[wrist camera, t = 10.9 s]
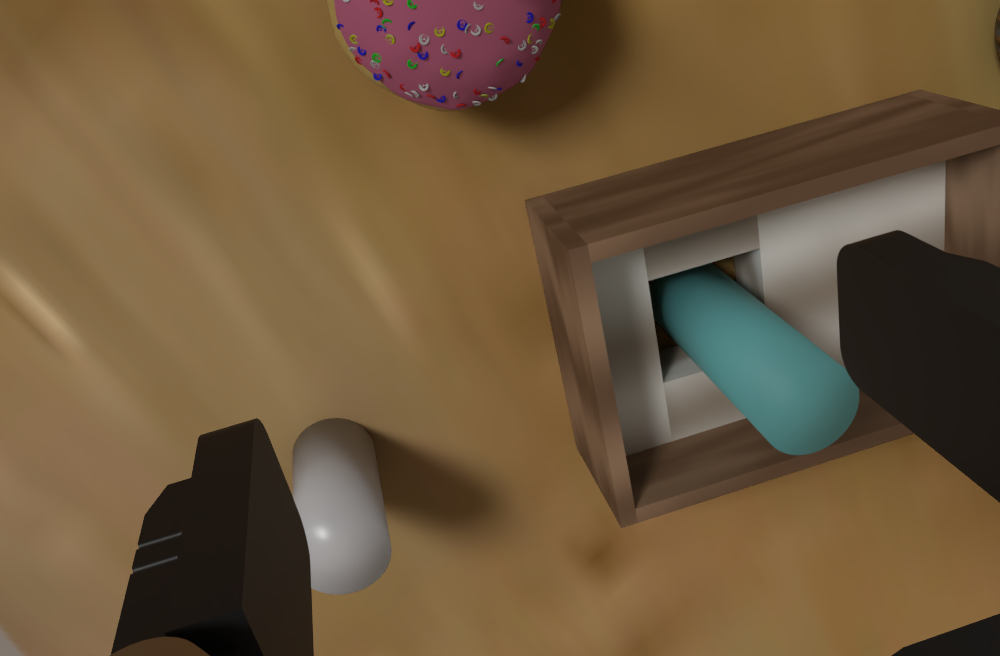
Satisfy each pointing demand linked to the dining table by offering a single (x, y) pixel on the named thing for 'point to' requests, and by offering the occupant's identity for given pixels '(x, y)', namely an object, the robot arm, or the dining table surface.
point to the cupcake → (444, 45)
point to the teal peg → (756, 359)
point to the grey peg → (340, 506)
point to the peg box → (744, 279)
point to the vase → (997, 33)
